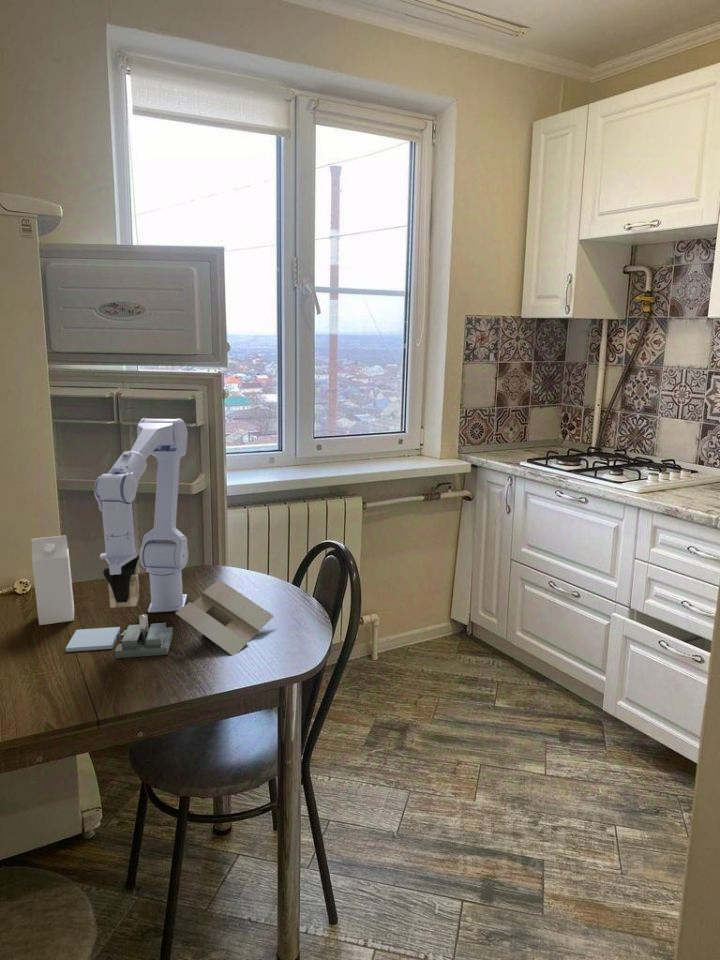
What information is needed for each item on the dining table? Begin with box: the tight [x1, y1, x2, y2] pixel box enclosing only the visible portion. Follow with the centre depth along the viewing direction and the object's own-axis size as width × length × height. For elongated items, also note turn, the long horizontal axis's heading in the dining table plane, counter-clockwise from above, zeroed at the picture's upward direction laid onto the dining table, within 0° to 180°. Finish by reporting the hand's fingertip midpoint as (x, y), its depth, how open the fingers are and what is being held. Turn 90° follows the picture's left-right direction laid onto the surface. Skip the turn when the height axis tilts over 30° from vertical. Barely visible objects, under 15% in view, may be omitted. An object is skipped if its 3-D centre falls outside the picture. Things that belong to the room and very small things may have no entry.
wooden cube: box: [108, 573, 141, 609], centre depth 143 cm, size 5×5×5 cm
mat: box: [65, 626, 121, 653], centre depth 147 cm, size 9×9×1 cm
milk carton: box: [30, 535, 75, 626], centre depth 157 cm, size 7×7×19 cm
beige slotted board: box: [175, 579, 275, 656], centre depth 149 cm, size 16×9×15 cm
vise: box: [114, 613, 174, 659], centre depth 144 cm, size 10×10×6 cm
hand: (124, 596), depth 143 cm, fingers closed on wooden cube, 5 cm apart
